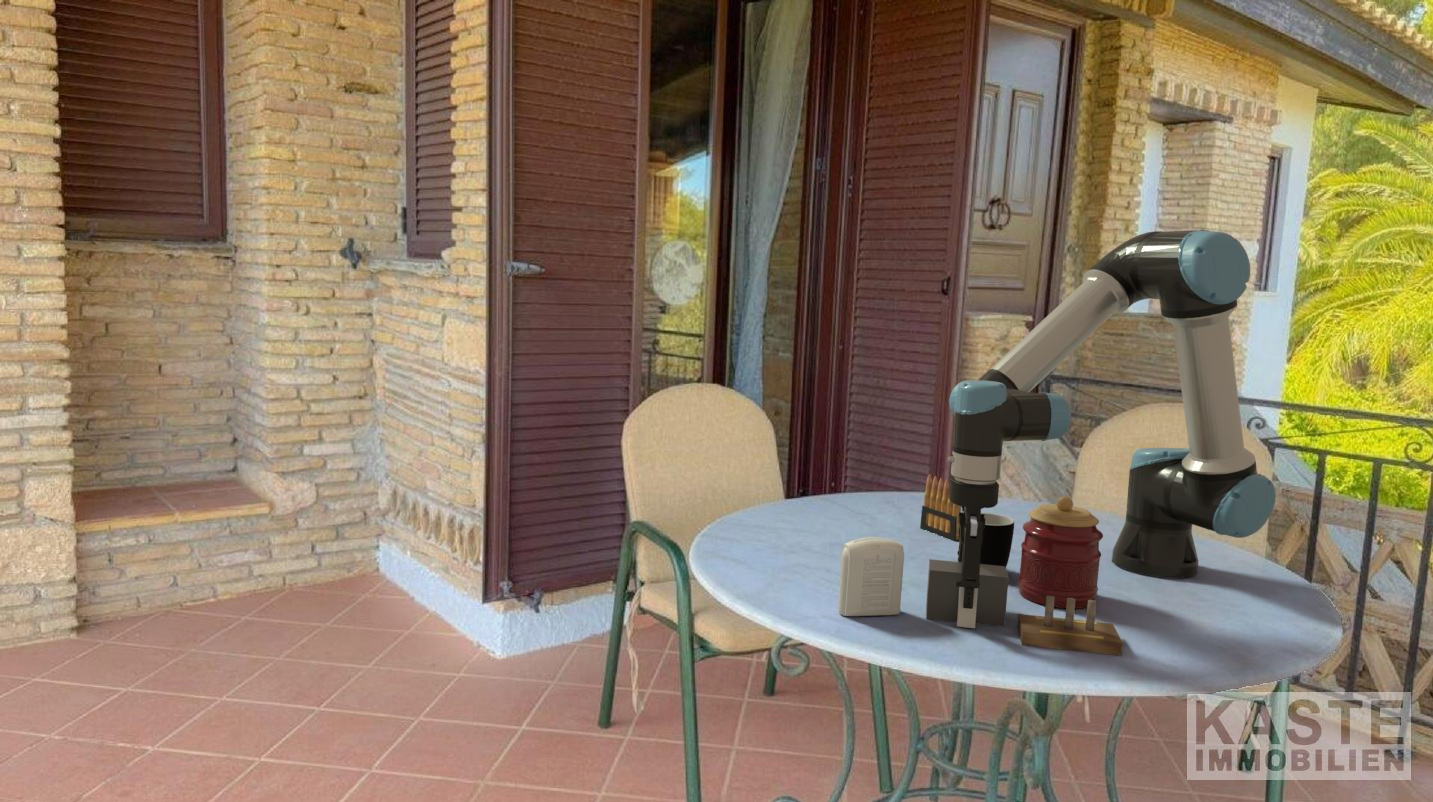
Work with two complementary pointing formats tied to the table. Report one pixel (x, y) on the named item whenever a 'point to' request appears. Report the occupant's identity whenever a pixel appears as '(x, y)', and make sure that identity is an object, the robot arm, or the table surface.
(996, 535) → the mug
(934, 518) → the ammunition clip
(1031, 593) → the canister
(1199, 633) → the table surface
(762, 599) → the table surface
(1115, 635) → the block
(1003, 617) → the grey bevelled block
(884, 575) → the photo printer
